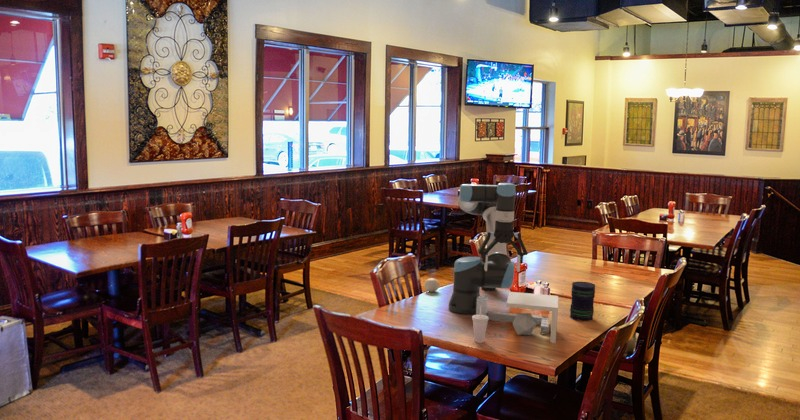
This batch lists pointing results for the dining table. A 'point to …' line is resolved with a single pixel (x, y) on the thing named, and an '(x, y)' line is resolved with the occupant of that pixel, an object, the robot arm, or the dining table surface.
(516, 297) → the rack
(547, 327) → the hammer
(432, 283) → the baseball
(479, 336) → the smoothie
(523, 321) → the die
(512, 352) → the dining table surface
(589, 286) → the storage jar
